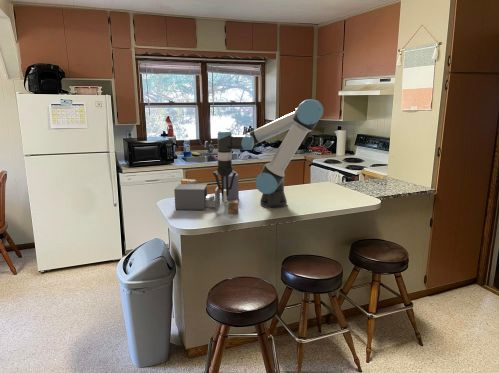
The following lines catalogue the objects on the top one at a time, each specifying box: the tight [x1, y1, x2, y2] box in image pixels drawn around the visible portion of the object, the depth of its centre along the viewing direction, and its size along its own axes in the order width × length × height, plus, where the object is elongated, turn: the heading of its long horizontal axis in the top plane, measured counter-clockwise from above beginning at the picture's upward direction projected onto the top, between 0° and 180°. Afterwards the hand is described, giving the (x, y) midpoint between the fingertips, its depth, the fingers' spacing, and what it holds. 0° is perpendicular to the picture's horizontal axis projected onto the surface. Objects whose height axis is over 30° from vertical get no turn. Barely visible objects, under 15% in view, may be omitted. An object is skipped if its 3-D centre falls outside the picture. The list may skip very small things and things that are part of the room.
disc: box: [204, 194, 215, 201], centre depth 210 cm, size 8×8×2 cm
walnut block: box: [227, 199, 239, 215], centre depth 202 cm, size 5×5×6 cm
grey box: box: [173, 183, 208, 212], centre depth 210 cm, size 16×12×12 cm
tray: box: [204, 186, 221, 211], centre depth 210 cm, size 16×12×11 cm
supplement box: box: [180, 178, 197, 184], centre depth 223 cm, size 8×5×13 cm, turn 70°
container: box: [221, 172, 240, 202], centre depth 228 cm, size 10×10×15 cm
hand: (225, 201), depth 210 cm, fingers closed
